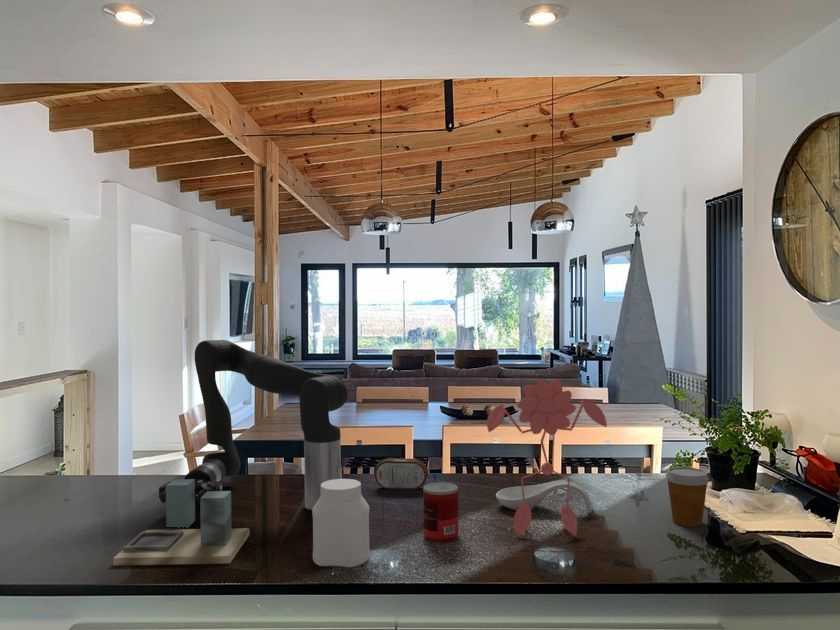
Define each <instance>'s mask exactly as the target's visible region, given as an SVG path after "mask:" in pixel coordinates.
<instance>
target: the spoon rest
mask: <svg viewBox="0 0 840 630" xmlns="http://www.w3.org/2000/svg"><path fill="white" fill-rule="evenodd" d="M523 487H524V498H525V505H526V506H527V505H528V506H529V507H530V509H531V510H533V509H534V508H536V507H537V506H538V505H539V504H540V503H541V502H542V501H543V500H545V498H546V497H547V496H549V495H551V493H553V492H554V491H556V490H559V489H563V488H567V487H568V480H561V479H560V480H553V481H549V482H545V483H539V484H533V485H523ZM569 490H572V491H575V492H577V493H578V495H579V494H580V496H581V498H582V499H583V501H584V504H585V505H584V506H585V509H586V510H585V511H586V512H587V514H592V504H591V498H590V496H589V494H588V492H587V491H586V490H585V488H584V487H582V486H581V485H579V484H578V483H575V482H574V481H570V482H569ZM495 497H496V500H497V501H498V502H499V503H500V504H501V505H502V506H503V507H505V508H507V509H509V510H513V511H517V510H518V508H519V507H520V506H522V505H523V494H522V485H521V486H518V485H517V486H512V487H511V486H510V487H505V488H502V489H500V490H498V491H497V492H496V493H495Z"/></svg>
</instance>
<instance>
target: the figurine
mask: <svg viewBox="0 0 840 630" xmlns="http://www.w3.org/2000/svg"><path fill="white" fill-rule="evenodd" d="M522 390H523V393H524V394H525V396H526V397H524V398H521V399H520V400H519V401H518V402H517V408H518V409H520V410H521V412H520V414H519V417H518V420H519V422H520V423H528V422H529V426H530V429H529V428H528V429H525V430H522V429H521V427H520V426H519V424H518V423H517V422H516V421H515V420H514V418H513V417H512V416H511V414H510V413H509V412H508V410H507V409H506V408H505V407H504V404H503V403H501V404H499V405H498V406H495V408H494V409H493V410H491V411H490V413H489V414H488V416H487V420H486V427H487V431H488V433H491V432H492V431H493V430H495V429H497V428H498V427H499V426H500V425H501V424H502V422H503V420H504V418H505V415H506V416H507V417H508V418H509V419H510V421H511V422H512V423H513V425H514V426H515V427H516V428H517V429H518V431H519V432H520V433H521V434H526V433H529V432H532V434H533V435H539V434H541V433H542V430H543V433H542V436H541V439H540V445H541V446H540V447H541V450H542V453H543V456H544V460H545V462H544V463H543V464H541V467H540V470H539V471H536V472H533V473H531V474H530V473H529V474H528V475H525V476H523V477H521V479H520V481H521V486H522V494H523V505H522V506H520V507H519V508H518V510H515V513H514V516H513V526H514V530H515V533H516V535H517V537H519V536H520V535H522V534H523V533H525V532H526V530H527V529H528V528H529V527H530V525H531V522H532V517H533V516H532V509H530V507H529V506H528V505H527V506H526V505H525V498H524V487H523V486H524V479H526V478H529V477H532V476H534V475H537V474H540V473H542V474H543V475H545V476H550V475H552V473H553V474H556V475H558V476H560V477H563V478H565V479H567V481H568V487H567V489H566V490H567V491H566V505H563V506H561V509H560V518H561V522H562V524H563V525H562V527H563V528H562V529H563V530H566V529H567V531H569V533H571V535H573V536H574V537H576V536H577V532H578V520H577V517H576V514H575V512H574V511H573V510H572V509H571V507H569V494H570V488H569V482H571V481H570V480H571V479H570V477H567V476H565V475H564V474H562V473H560V472H557V471H555V470H554V466H553V465H552V464H551V463H550V462H548V457H547V453H546V450H545V445H544V440H545V436H546V434H549V435H550V436H555V434H557V431H558V430H559V431H560V430H562V431H573V430H574V427H575V425H576V423H577V421H578V419H579V417H580V414H581V412H582V410H584V411H585V413H586V414H587V416H588V417H589V418H590V419H591V420H593V421H594V422H595V423H597V424H599V425H601V426H603V427H605V428H607V424H608V423H607V419H606V416H605V414H604V412H603V410H602V409H601V408H600V407H599V406H598V405H597V404H596V403H594V402H593V401H592V400H588V399H586V398H582V399H581V400H582V401H581V404H580V406H579V408H578V411H577V412H576V415H575V417H574V420H573V422H572V424H571V421H570V419H569V418H568V416H570V415H572V414H573V413H575V411H576V410H577V407H576V405H575V404H573V403H571V400H572V391H570V390H565V391H563V385H562V383H561V380H560V379H557V378H556V379H554V380H552V382H551V383H550V384H549V383H548V382H547V381H545V380H544V379H538V380H537V381H536V385H534V384H527V385H524V386H523V388H522ZM570 425H571V427H570ZM497 526H499V524H497ZM594 545H595V543H593V544H591V545H589V546H586V547H582V548H578V549H577V551H578V552H581V551H583V550H586V549H587V548H590V547H593V546H594ZM527 549H528V550H531V548H530V547H528V548H527ZM532 549H533V550H534V551H537V549H535V548H532ZM538 550H539V552H545V550H544V549H543V550H541V549H538ZM549 551H550V552H551V553H553V554H555V553H563V552H567V550H549ZM574 551H576V549H571V550H570V552H574Z"/></svg>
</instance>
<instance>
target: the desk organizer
mask: <svg viewBox="0 0 840 630" xmlns="http://www.w3.org/2000/svg"><path fill="white" fill-rule="evenodd" d="M199 504H200V506H199V510H200V512H199V513H200V514H199V515H200V517H199V519H200V522H199V523H200V528H173V529H145V530H144V531H141V532H140V533H138V534H137V535H136V536H135V537H134V538H133V539H131V540H130V541H129V542H128V543H126V545H124V546H122V550H121V551H119V552H118V553H117V554H116V555H115V556H114V557H113V560H112V561H113V564H112V565H113V566H155V565H156V566H158V565H163V566H164V565H207V564H208V565H209V564H213V565H215V564H217V565H218V564H219V565H220V564H231V562H232V561H233V559H234V558H235V557H236V555H237V554H238V552H239V551H240V549H241V548H242V547H243V545H244V543H245V542H246V541H247V540H248V538H249V536H250V528H249V527H244V528H243V527H242V528H240V527H239V528H232V491H231V490H222V491H208V492H206V493H205V494H204V495H203V496H202V497H201V498H200V502H199Z"/></svg>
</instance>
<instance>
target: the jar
mask: <svg viewBox="0 0 840 630" xmlns="http://www.w3.org/2000/svg"><path fill="white" fill-rule="evenodd" d="M320 488H321V489H320V491H321V492H320V494H321V495H320V498H319V499H318V501H317V502H316V504H315V506H314V507H313V509H312V510H311V513H312V514H311V515H312V560H313V562H314V564H316V565H317V566H319V567H344V568H354V567H355V568H356V567H358V566H361V565H363V564H364V563H366V562H367V561H369V559H370V557H371V550H370V505H369V503H368V502H367V501H366V499H365V497H363V495H362V483H361V481H359V480H357V479H352V478H342V479H334V480H329V481H325V482H323V483H322V484H321V485H320Z"/></svg>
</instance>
